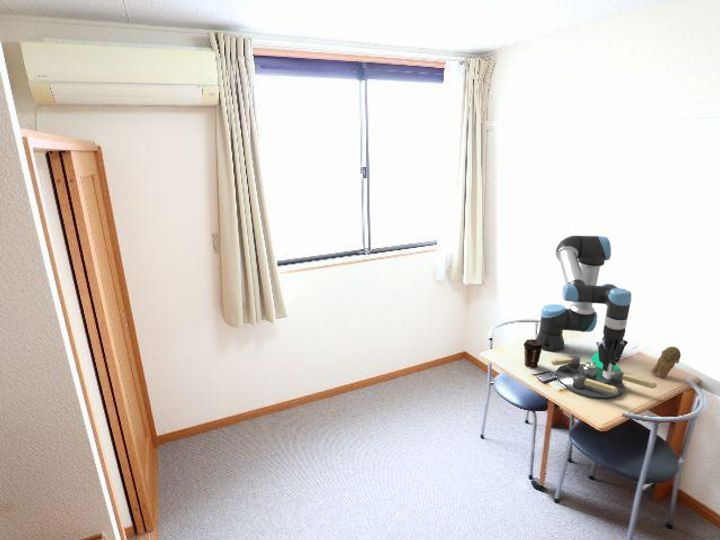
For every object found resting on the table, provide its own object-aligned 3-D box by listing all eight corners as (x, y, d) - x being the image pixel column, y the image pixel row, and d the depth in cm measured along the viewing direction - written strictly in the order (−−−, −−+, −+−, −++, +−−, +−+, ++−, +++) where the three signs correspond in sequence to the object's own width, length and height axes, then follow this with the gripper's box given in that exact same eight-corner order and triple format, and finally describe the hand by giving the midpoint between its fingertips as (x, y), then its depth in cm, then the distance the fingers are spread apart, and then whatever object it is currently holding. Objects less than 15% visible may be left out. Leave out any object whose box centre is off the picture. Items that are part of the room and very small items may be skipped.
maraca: (574, 363, 207) (575, 354, 206) (581, 368, 203) (582, 359, 201) (548, 366, 205) (549, 357, 204) (554, 371, 200) (555, 362, 199)
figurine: (649, 374, 200) (654, 345, 196) (661, 371, 203) (666, 343, 199) (666, 382, 193) (672, 353, 189) (678, 379, 195) (685, 350, 191)
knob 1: (571, 386, 187) (572, 377, 186) (574, 382, 191) (575, 372, 189) (615, 400, 176) (617, 390, 175) (617, 395, 180) (619, 385, 178)
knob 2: (608, 382, 190) (609, 372, 189) (610, 377, 194) (612, 368, 192) (654, 395, 179) (656, 385, 178) (655, 390, 183) (657, 380, 181)
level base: (543, 370, 206) (545, 352, 203) (593, 364, 210) (596, 347, 208) (581, 402, 179) (584, 382, 177) (638, 395, 184) (642, 375, 181)
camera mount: (620, 373, 202) (623, 354, 199) (605, 374, 202) (608, 355, 199) (605, 361, 213) (608, 343, 211) (591, 362, 213) (593, 344, 210)
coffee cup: (533, 360, 216) (535, 337, 212) (544, 367, 208) (546, 344, 205) (518, 362, 214) (520, 339, 210) (529, 370, 206) (531, 346, 202)
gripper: (607, 331, 164) (598, 383, 171) (636, 328, 166) (626, 380, 173) (594, 324, 171) (586, 374, 178) (622, 321, 173) (613, 370, 180)
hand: (606, 377), depth 175 cm, fingers closed
